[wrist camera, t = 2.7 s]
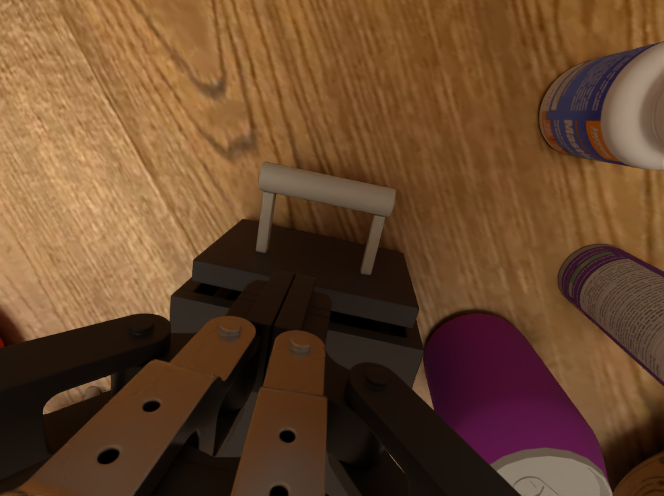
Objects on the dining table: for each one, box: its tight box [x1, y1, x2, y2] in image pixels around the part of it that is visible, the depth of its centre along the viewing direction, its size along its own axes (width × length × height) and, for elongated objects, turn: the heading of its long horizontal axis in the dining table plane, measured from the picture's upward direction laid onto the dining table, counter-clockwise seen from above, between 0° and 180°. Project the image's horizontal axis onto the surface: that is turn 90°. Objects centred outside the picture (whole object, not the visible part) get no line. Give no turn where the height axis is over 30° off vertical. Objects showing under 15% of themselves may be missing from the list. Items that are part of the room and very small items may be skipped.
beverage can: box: [424, 313, 613, 496], centre depth 23 cm, size 8×8×12 cm
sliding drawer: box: [192, 162, 419, 335], centre depth 23 cm, size 18×11×8 cm, turn 169°
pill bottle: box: [539, 41, 664, 170], centre depth 18 cm, size 5×5×10 cm
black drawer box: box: [170, 277, 424, 496], centre depth 25 cm, size 15×13×10 cm
